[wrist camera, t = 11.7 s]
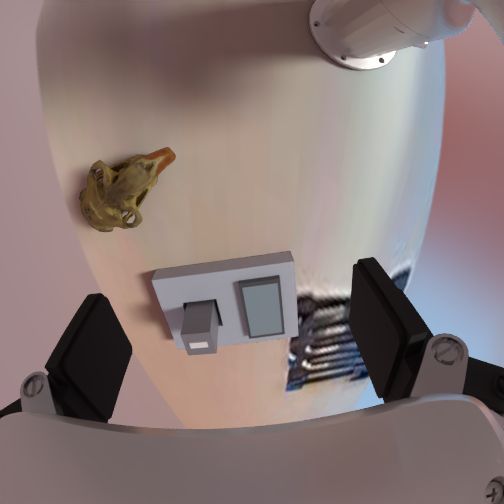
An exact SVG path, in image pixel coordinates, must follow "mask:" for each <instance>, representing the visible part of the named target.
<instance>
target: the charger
mask: <svg viewBox="0 0 504 504" xmlns="http://www.w3.org/2000/svg"><path fill="white" fill-rule="evenodd" d="M218 324H219V309H218V305H217V301H216V299H211V300H203V301H194V302H187V306H186V310H185V315H184V320H183V324H182V329H181V333H180V336H181V338H182V341H183V343H184V346H185V348H186V351H187V353H188V355H200V354H212V353H217V339H218Z"/></svg>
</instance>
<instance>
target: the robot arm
mask: <svg viewBox="0 0 504 504" xmlns="http://www.w3.org/2000/svg"><path fill="white" fill-rule="evenodd" d="M476 8H477V9H478V10H479V11H480V13H481V14H482V15H483V16H484V18H485V19H486V20H487V22H488V23H489V25H490V26H492V27H493V29H494V31H495V32H496V34H497V35H498V37H499V38H500V40H501V41H502V43H503V45H504V0H316V1H315V2H314V4H313V5H312V7H311V10H310V12H309V27H310V31H311V33H312V36H313V38H314V40H315V41H316V43H317V45H318V46H319V47H320V48H321V50H322V51H323V52H324V53H326V54H327V55H328V56H329V57H330V58H331V59H333V60H334V61H336V62H337V63H339V64H341V65H343V66H345V67H349V68H352V69H356V70H373V69H377V68H380V67H383V66H384V65H386V64H388V63H389V62H390V61H391V60H392V59H393V58H394V56H395V54H396V52H397V50H400V49H404V48H407V47H411V46H414V47H419V48H426V46H427V42H431V41H435V40H440V39H444V38H449V37H453V36H455V35H458V34H460V33H462V32H463V31H464V30H465V29H466V28H467V27H468V26H469V25H470V23H471V21H472V19H473V17H474V14H475V11H476ZM314 25H317V27H316V26H314ZM340 57H342V58H343V60H341V58H340ZM379 61H380V62H379ZM349 326H350V330H351V332H352V335H353V337H354V339H355V342H356V344H357V347H358V349H359V351H360V354H361V356H362V359H363V361H364V364H365V366H366V369H367V371H368V374H369V376H370V379H371V381H372V384H373V386H374V389H375V392H376V394H377V396H378V398H383V400H384V404H380V405H376V406H373V407H369V408H364V409H360V410H356V411H351V412H347V413H342V414H337V415H332V416H327V417H321V418H316V419H310V420H304V421H298V422H291V423H283V424H275V425H266V426H256V427H243V428H226V429H165V428H163V429H162V428H147V427H135V426H124V425H116V424H108V419H110V418H111V417H112V414H113V411H114V407H115V404H116V401H117V397H118V394H119V391H120V387H121V385H122V381H123V378H124V375H125V372H126V369H127V366H128V364H129V361H130V357H131V355H132V345H131V343H130V341H129V340H128V338H127V336H126V334H125V332H124V330H123V328H122V326H121V324H120V322H119V320H118V319H117V317H116V315H115V312H114V310H113V308H112V306H111V304H110V302H109V300H108V298H107V297H105V296H104V295H103V294H101V293H97V294H89V295H88V296H87V297H86V299H85V300H84V301H83V303H82V304H81V306H80V307H79V309H78V311H77V312H76V314H75V315H74V317H73V319H72V320H71V322H70V323H69V325H68V327H67V328H66V330H65V332H64V333H63V335H62V337H61V338H60V340H59V342H58V344H57V345H56V347H55V349H54V350H53V352H52V354H51V356H50V358H49V360H48V362H47V363H46V365H45V368H46V370H47V371H48V372H49V374H48V375H45V373H43V372H34V373H32V374H30V375H29V376H28V377H27V378H26V379H25V380H24V381H23V383H22V385H21V388H20V396H21V398H20V399H18V400H16V401H15V402H13V403H12V404H10V405H9V406H7V407H5V408H4V409H2V410H1V411H0V504H504V368H502V367H499V366H496V365H493V364H490V363H487V362H484V361H480V360H478V359H475V358H471V357H469V355H468V349H467V346H466V344H465V343H464V342H463V341H462V340H461V339H460V338H458V337H457V336H454V335H452V334H445V333H444V334H438V335H436V336H433V334H432V333H431V331H430V330H429V328H428V327H427V325H426V324H425V322H424V321H423V319H422V318H421V316H420V315H419V313H418V312H417V311H416V309H415V308H414V306H413V305H412V304H411V302H410V301H409V300H408V298H407V297H406V295H405V294H404V293H403V291H402V290H401V289H398V288H397V287H396V285H395V284H394V283H393V281H392V280H391V279H390V277H389V276H388V275H387V273H386V272H385V271H384V269H383V268H382V267H381V265H380V264H379V263H378V262H377V260H376V259H375V258H374V257H371V258H364V259H359V260H358V262H357V264H354V265H353V275H352V290H351V303H350V314H349Z"/></svg>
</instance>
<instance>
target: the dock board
mask: <svg viewBox="0 0 504 504" xmlns="http://www.w3.org/2000/svg"><path fill="white" fill-rule="evenodd" d="M151 281H152V284H153V286H154V289H155V292H156V295H157V297H158V300H159V303H160V305H161V308H162V311H163V313H164V316H165V318H166V321H167V323H168V326H169V328H170V331H171V333H172V335H173V338H174V340H175V343H176V345H177V347H178V349H186V348H185V346H184V343H183V341H182V338H181V336H180V333H181V329H182V324H183V320H184V315H185V310H186V306H187V302H194V301H203V300H211V299H216V301H217V305H218V309H219V324H218V339H217V346H226V345H235V344H244V343H252V342H260V341H268V340H275V339H282V338H288V337H295V336H298V318H297V298H296V281H295V266H294V259H293V257H292V254H291V251H288V252H281V253H274V254H266V255H259V256H252V257H245V258H238V259H230V260H223V261H216V262H208V263H201V264H194V265H186V266H179V267H172V268H164V269H157V270H156V271H155V273H154V276H153V278H152V280H151Z"/></svg>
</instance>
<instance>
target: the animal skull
mask: <svg viewBox="0 0 504 504" xmlns="http://www.w3.org/2000/svg"><path fill="white" fill-rule="evenodd" d="M175 157H176V156H175V154H174V153H173V151H172V150H171V149H170V148H168V147H165V148H163V149H160V150H158V151H155V152H153V153H151V154H149V155H147V156H144V155H136V156H135V157H133V158H131V159H129V160H126V161H123V162H121V163H118V164H115V165H113V166H111V167H108V166H107V165H106V164H105V163H103V162H102V161H101V160H99V161H97V162H95V163H94V164H93V165H92V167H91V169H90V171H89V175H88V178H87V180H88V183H87V188H86V189H84V190H82V191H81V193H80V197H79V199H80V201H81V204H80V205H81V211H82V214H83V215H84V216H85V218H86V219H87V221H88V222H89V224H90V225H91V226H92V227H93V228H95V229H96V230H98V231H100V232H110V231H113V228H114V227H120V228H123V229H127V228H134V227H136V226H138V225H139V224H140V223H141V222H142V216H141V214H140V213H139V211H138V208H139V207H140V205H141V204H142V202H143V200H144V199H145V197H146V196H147V194H148V193H149V191H150V189H151V188H152V187H153V186H154V185H155V184H156V183H157V180H158V175H159V174H160V173H161V172H162V171H163V170H164V169H165V168H166V167H167V166H168V165H169V164H171V163H172V162H173V161H174V160H175ZM98 168H100V169H102V170H101V171H99V172H97V173H95V172H96V170H97V169H98ZM94 174H95V176H96V178H94ZM102 177H103V181H102V182H103V184H102V183H100V182H98V181H97V180H99V179H100V178H102ZM125 199H126V200H125ZM126 210H128V211H129V212H128V214H127V215H125V216H124V217H123V218H122V213H123V211H126ZM134 214H135V217H136V218H135V220H134V222H133V223H126V221H127V220H128V219H129V218H130V217H132V216H133V215H134Z"/></svg>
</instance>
